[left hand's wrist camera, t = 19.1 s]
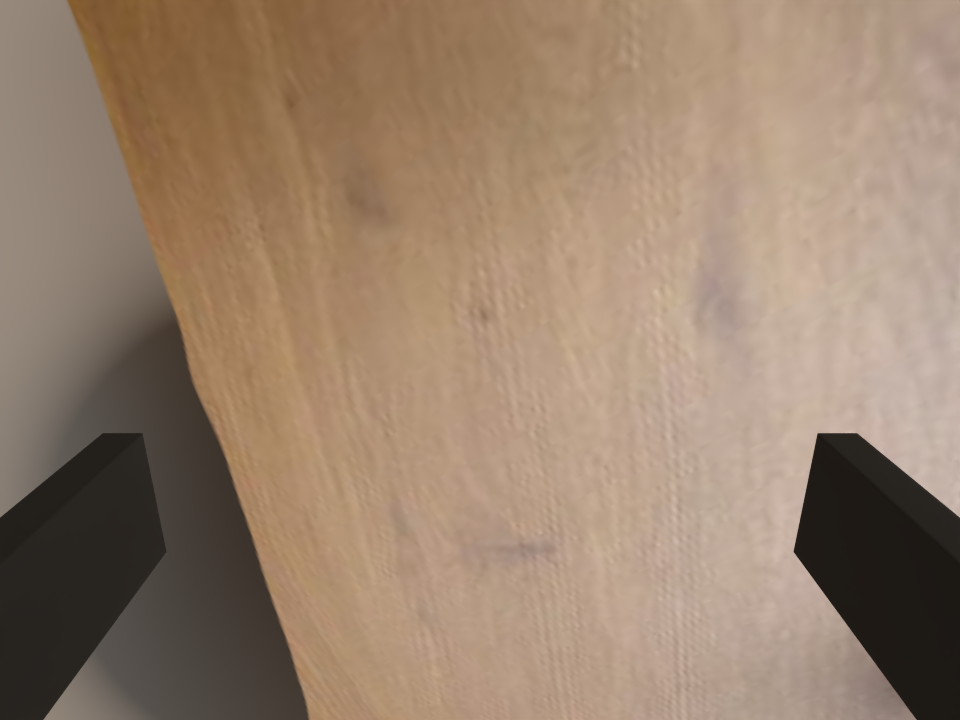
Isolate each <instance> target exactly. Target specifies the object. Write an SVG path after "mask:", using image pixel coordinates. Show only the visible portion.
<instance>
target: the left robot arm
mask: <svg viewBox="0 0 960 720" xmlns="http://www.w3.org/2000/svg"><path fill="white" fill-rule="evenodd" d="M165 553H166V548H165V543H164V538H163V533H162V528H161V523H160V518H159V513H158V508H157V503H156V498H155V494H154V489H153V484H152V479H151V474H150V469H149V464H148V459H147V454H146V449H145V444H144V439H143V434H142V433H103V434H102V435H100V436H99V437H98V438H97V439H95V440H94V441H93V442H92V443H91V444H89V445H88V446H87V447H86V448H84V449H83V450H82V451H81V452H80V453H78V454H77V455H76V456H75V457H74V458H72V459H71V460H70V461H69V462H67V463H66V464H65V465H64V466H63V467H61V468H60V469H59V470H58V471H56V472H55V473H54V474H53V475H52V476H50V477H49V478H48V479H47V480H46V481H44V482H43V483H42V484H41V485H39V486H38V487H37V488H36V489H35V490H33V491H32V492H31V493H30V494H28V495H27V496H26V497H25V498H24V499H22V500H21V501H20V502H19V503H18V504H16V505H15V506H14V507H13V508H11V509H10V510H9V511H8V512H7V513H5V514H4V515H3V516H2V517H0V720H43V719H44V718H45V717H46V715H47V714H48V713H49V711H50V710H51V709H52V707H53V706H54V704H55V703H56V702H57V700H58V699H59V698H60V696H61V695H62V694H63V692H64V691H65V689H66V688H67V687H68V685H69V684H70V683H71V681H72V680H73V678H74V677H75V676H76V674H77V673H78V672H79V670H80V669H81V668H82V666H83V665H84V663H85V662H86V661H87V659H88V658H89V657H90V655H91V654H92V653H93V651H94V650H95V648H96V647H97V646H98V644H99V643H100V642H101V640H102V639H103V638H104V636H105V635H106V633H107V632H108V631H109V629H110V628H111V627H112V625H113V624H114V623H115V621H116V620H117V618H118V617H119V616H120V614H121V613H122V612H123V610H124V609H125V607H126V606H127V605H128V603H129V602H130V601H131V599H132V598H133V597H134V595H135V594H136V593H137V591H138V590H139V588H140V587H141V586H142V584H143V583H144V582H145V580H146V579H147V577H148V576H149V575H150V573H151V572H152V571H153V569H154V568H155V567H156V565H157V564H158V562H159V561H160V560H161V558H162V557H163V556H164V554H165ZM794 553H795V554H796V556H797V557H798V558H799V560H800V561H801V562H802V564H803V565H804V567H805V568H806V569H807V571H808V572H809V573H810V575H811V576H812V577H813V579H814V580H815V582H816V583H817V584H818V586H819V587H820V588H821V590H822V591H823V593H824V594H825V595H826V597H827V598H828V599H829V601H830V602H831V603H832V605H833V606H834V608H835V609H836V610H837V612H838V613H839V614H840V616H841V617H842V618H843V620H844V621H845V623H846V624H847V625H848V627H849V628H850V629H851V631H852V632H853V633H854V635H855V636H856V638H857V639H858V640H859V642H860V643H861V644H862V646H863V647H864V648H865V650H866V651H867V653H868V654H869V655H870V657H871V658H872V659H873V661H874V662H875V663H876V665H877V666H878V668H879V669H880V670H881V672H882V673H883V674H884V676H885V677H886V678H887V680H888V681H889V683H890V684H891V685H892V687H893V688H894V689H895V691H896V692H897V694H898V695H899V696H900V698H901V699H902V700H903V702H904V703H905V704H906V706H907V707H908V709H909V710H910V711H911V713H912V714H913V715H914V717H915V718H916V719H917V720H960V517H958V516H957V515H956V514H955V513H953V512H952V511H951V510H950V509H949V508H947V507H946V506H945V505H944V504H942V503H941V502H940V501H939V500H938V499H936V498H935V497H934V496H933V495H932V494H930V493H929V492H928V491H927V490H925V489H924V488H923V487H922V486H921V485H919V484H918V483H917V482H916V481H914V480H913V479H912V478H911V477H910V476H908V475H907V474H906V473H905V472H904V471H902V470H901V469H900V468H899V467H897V466H896V465H895V464H894V463H893V462H891V461H890V460H889V459H888V458H886V457H885V456H884V455H883V454H882V453H880V452H879V451H878V450H877V449H876V448H874V447H873V446H872V445H871V444H869V443H868V442H867V441H866V440H865V439H863V438H862V437H861V436H860V435H858V434H857V433H818V434H817V439H816V444H815V449H814V454H813V459H812V464H811V469H810V474H809V479H808V484H807V489H806V493H805V498H804V503H803V508H802V513H801V518H800V523H799V528H798V533H797V538H796V543H795V548H794Z"/></svg>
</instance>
